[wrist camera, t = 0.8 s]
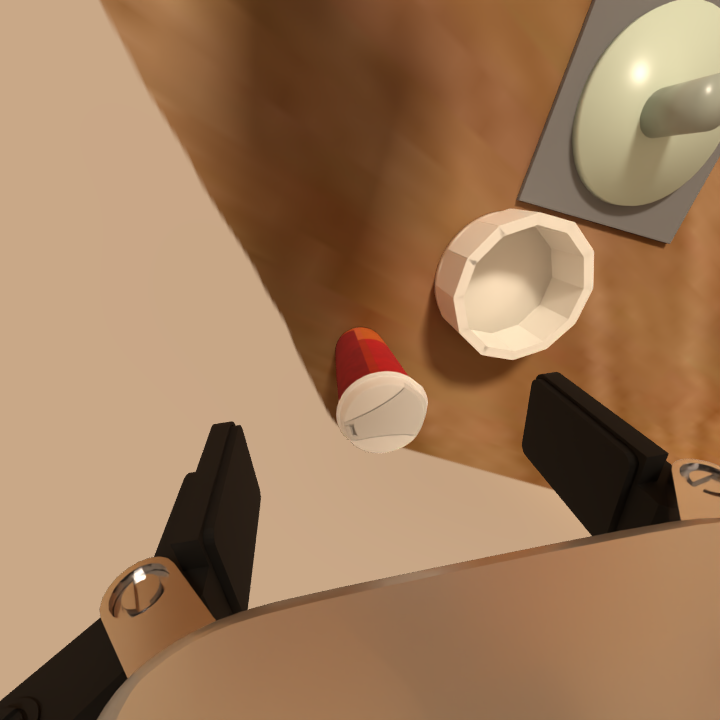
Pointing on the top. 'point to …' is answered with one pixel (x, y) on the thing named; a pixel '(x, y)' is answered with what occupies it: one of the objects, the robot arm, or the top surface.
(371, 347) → the paper cup
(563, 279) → the bowl
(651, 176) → the lid
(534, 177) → the mat
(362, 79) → the top surface
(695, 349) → the top surface
